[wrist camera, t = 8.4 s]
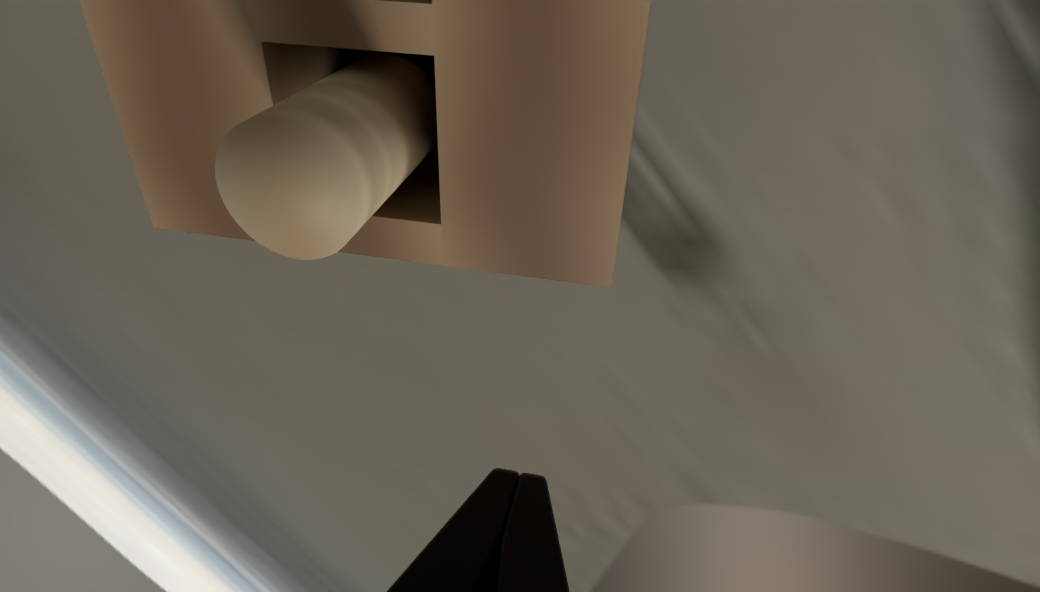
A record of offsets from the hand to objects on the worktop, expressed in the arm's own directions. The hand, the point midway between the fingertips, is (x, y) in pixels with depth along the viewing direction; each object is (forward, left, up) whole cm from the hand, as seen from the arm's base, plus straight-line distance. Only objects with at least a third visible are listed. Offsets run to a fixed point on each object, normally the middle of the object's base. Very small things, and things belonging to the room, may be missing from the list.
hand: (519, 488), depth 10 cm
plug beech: (+6, -3, -10) cm, 12 cm away
